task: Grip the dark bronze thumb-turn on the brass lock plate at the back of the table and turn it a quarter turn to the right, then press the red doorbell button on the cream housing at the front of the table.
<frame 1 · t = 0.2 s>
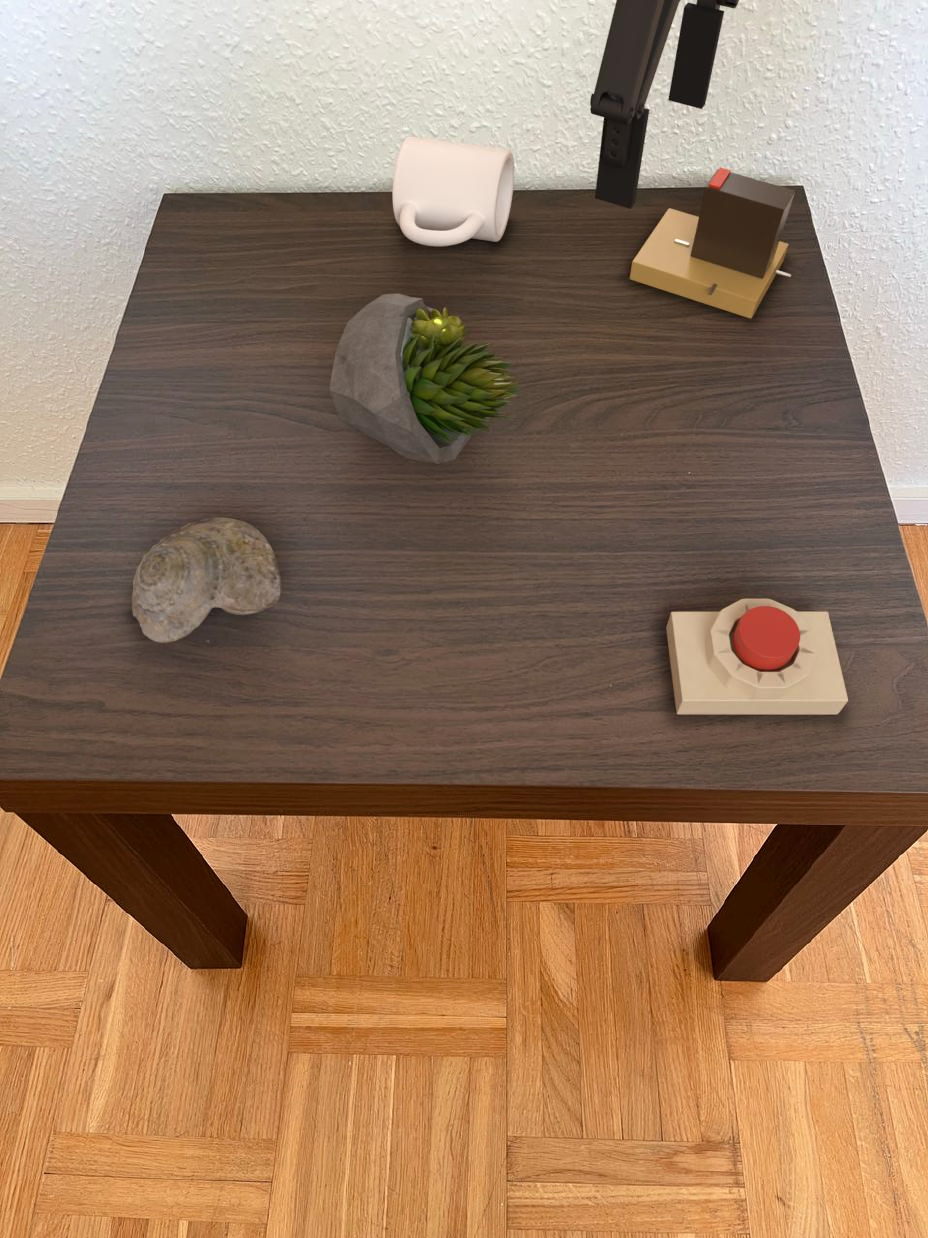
hand: (652, 149, 66), 18 cm above the table, tool pointing down, fingers open, 13 cm apart
lock plate: (706, 270, 86), on the table
bell button: (766, 637, 60), point 4 cm above the table, slide at 0.1 cm
mug: (450, 240, 90), on the table
lock turn: (741, 223, 81), point 6 cm above the table, hinge at 0.0°
bell housing: (749, 669, 64), on the table
potted plant: (432, 427, 77), on the table
fossilized seashell: (217, 601, 68), on the table
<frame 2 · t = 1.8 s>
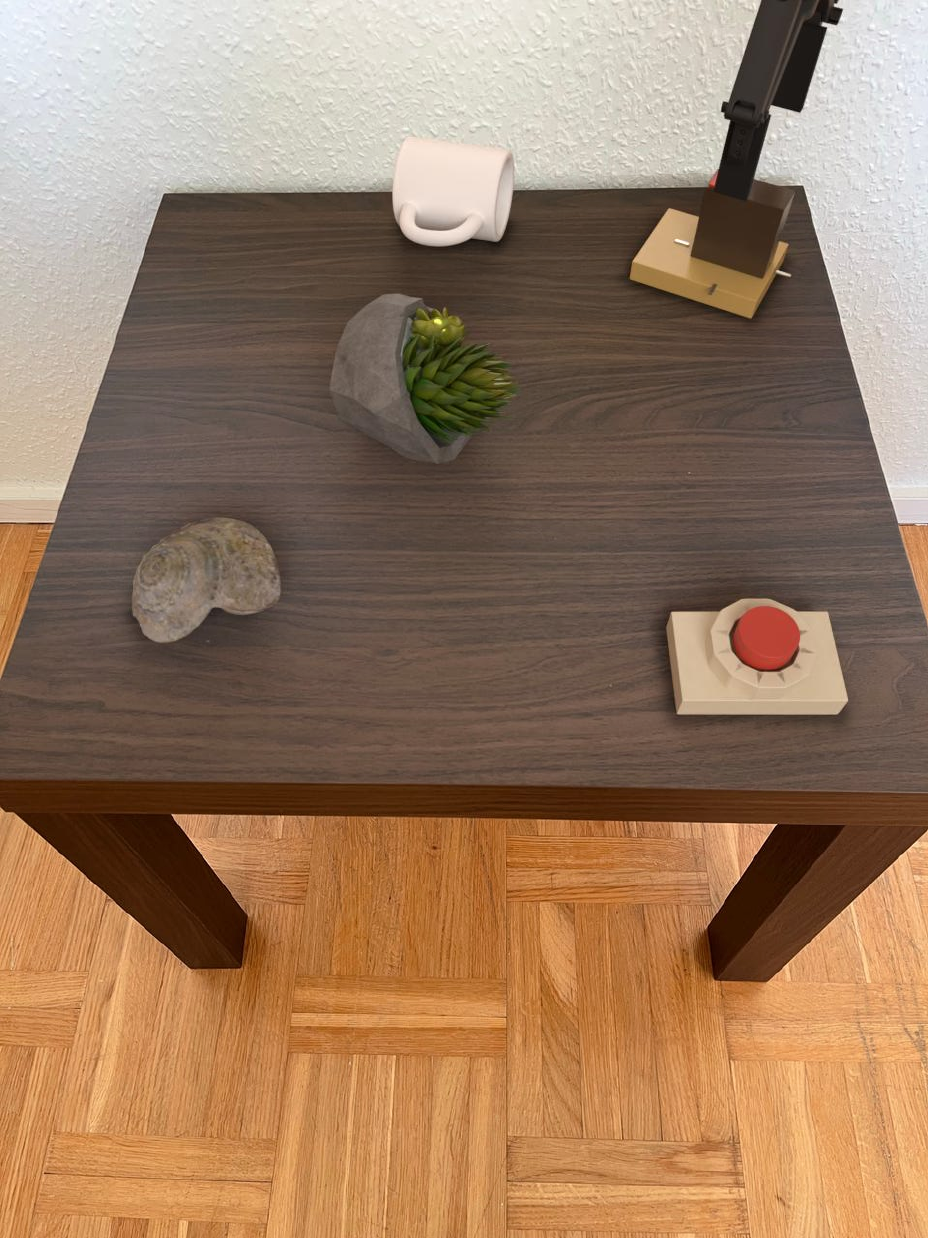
hand: (759, 148, 75), 13 cm above the table, tool pointing down, fingers open, 13 cm apart
nothing on the table moved.
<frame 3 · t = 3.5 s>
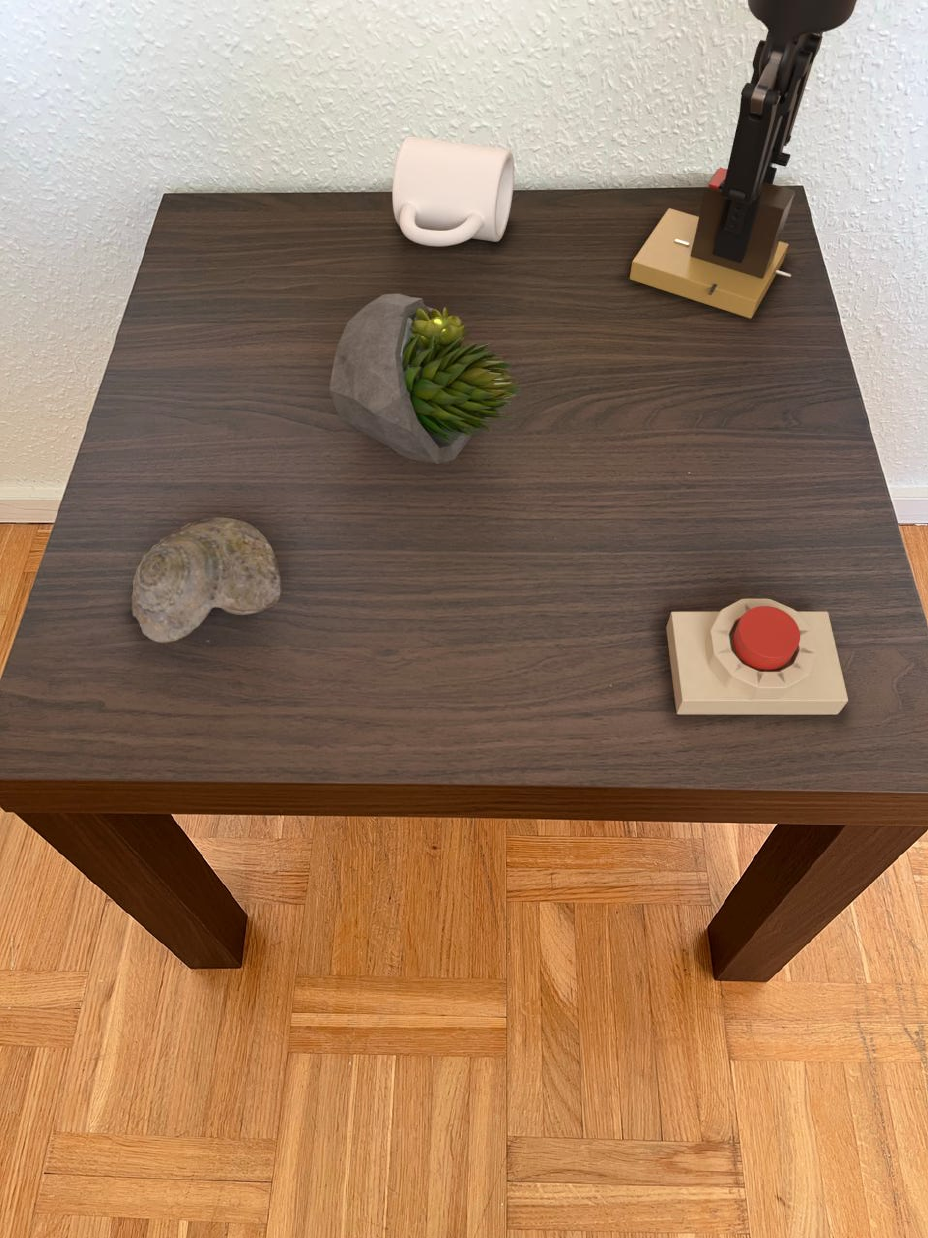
hand: (735, 244, 83), 4 cm above the table, tool pointing down, fingers closed on lock turn, 3 cm apart
lock turn: (741, 223, 81), point 6 cm above the table, hinge at 0.0°, touching gripper
everything else where it was.
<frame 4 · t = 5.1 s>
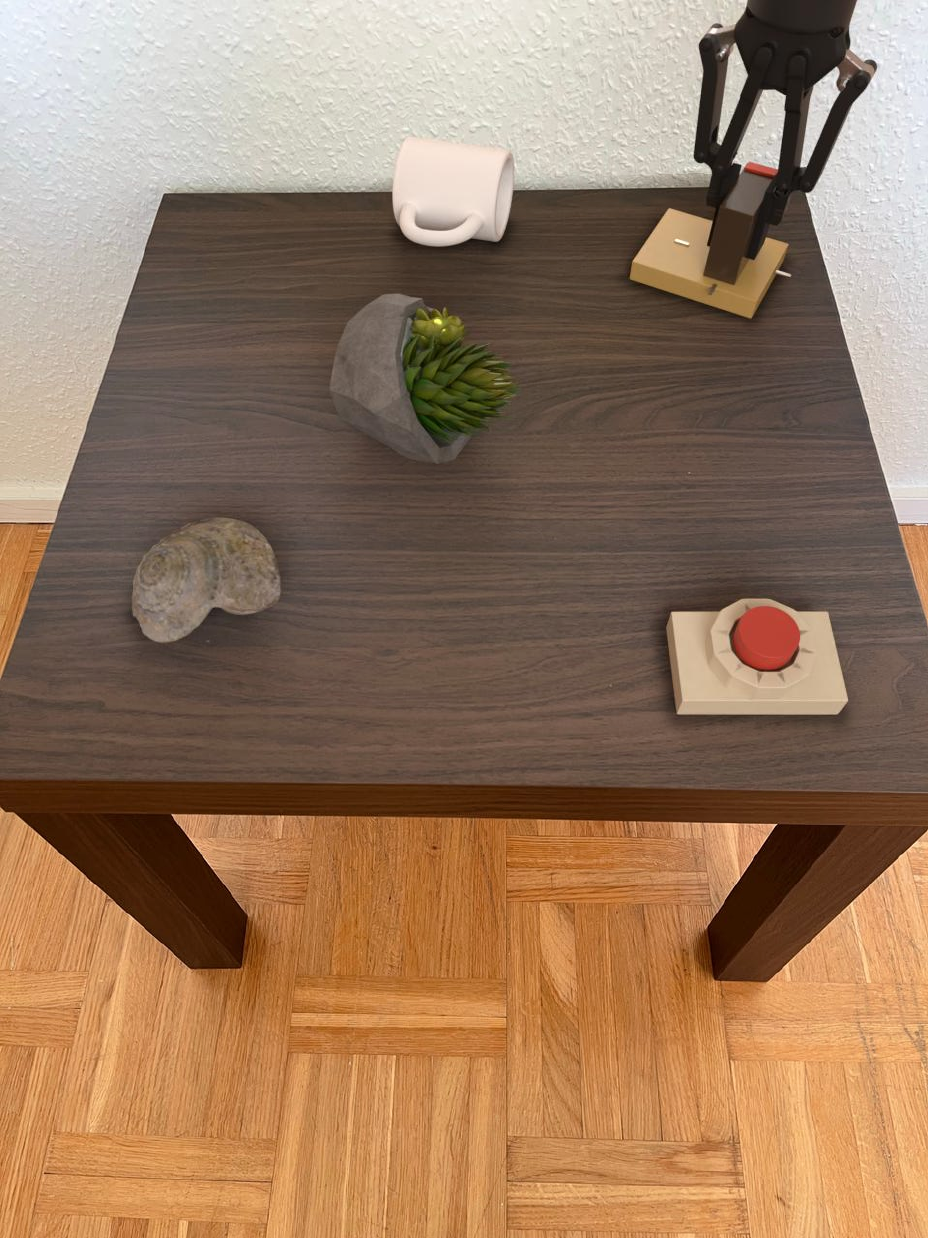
hand: (735, 243, 83), 4 cm above the table, tool pointing down, fingers closed on lock turn, 3 cm apart
lock turn: (741, 223, 81), point 6 cm above the table, hinge at -89.8°, touching gripper
everything else where it was.
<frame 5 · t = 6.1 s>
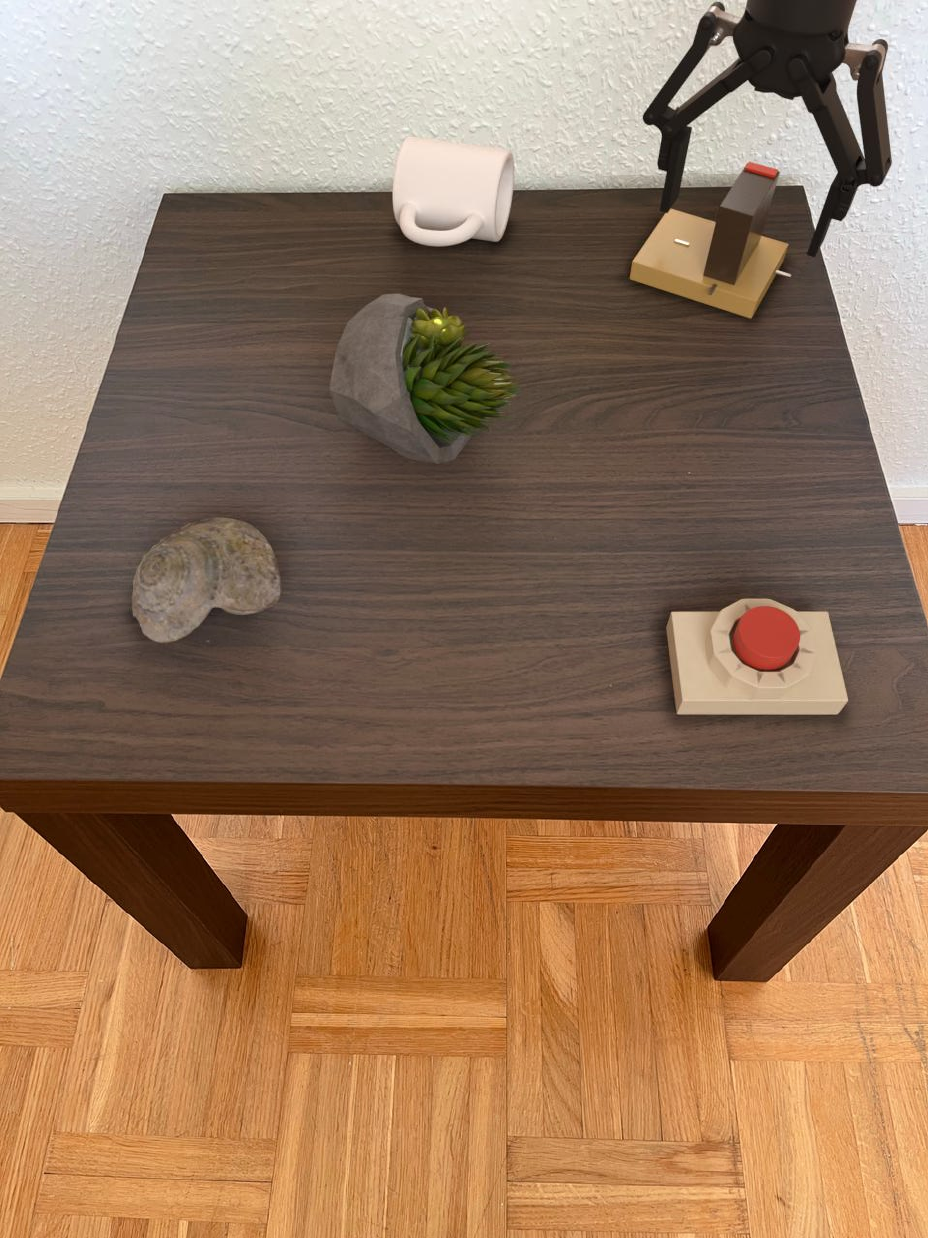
hand: (740, 225, 81), 5 cm above the table, tool pointing down, fingers open, 13 cm apart
lock turn: (741, 223, 81), point 6 cm above the table, hinge at -89.8°
everything else where it was.
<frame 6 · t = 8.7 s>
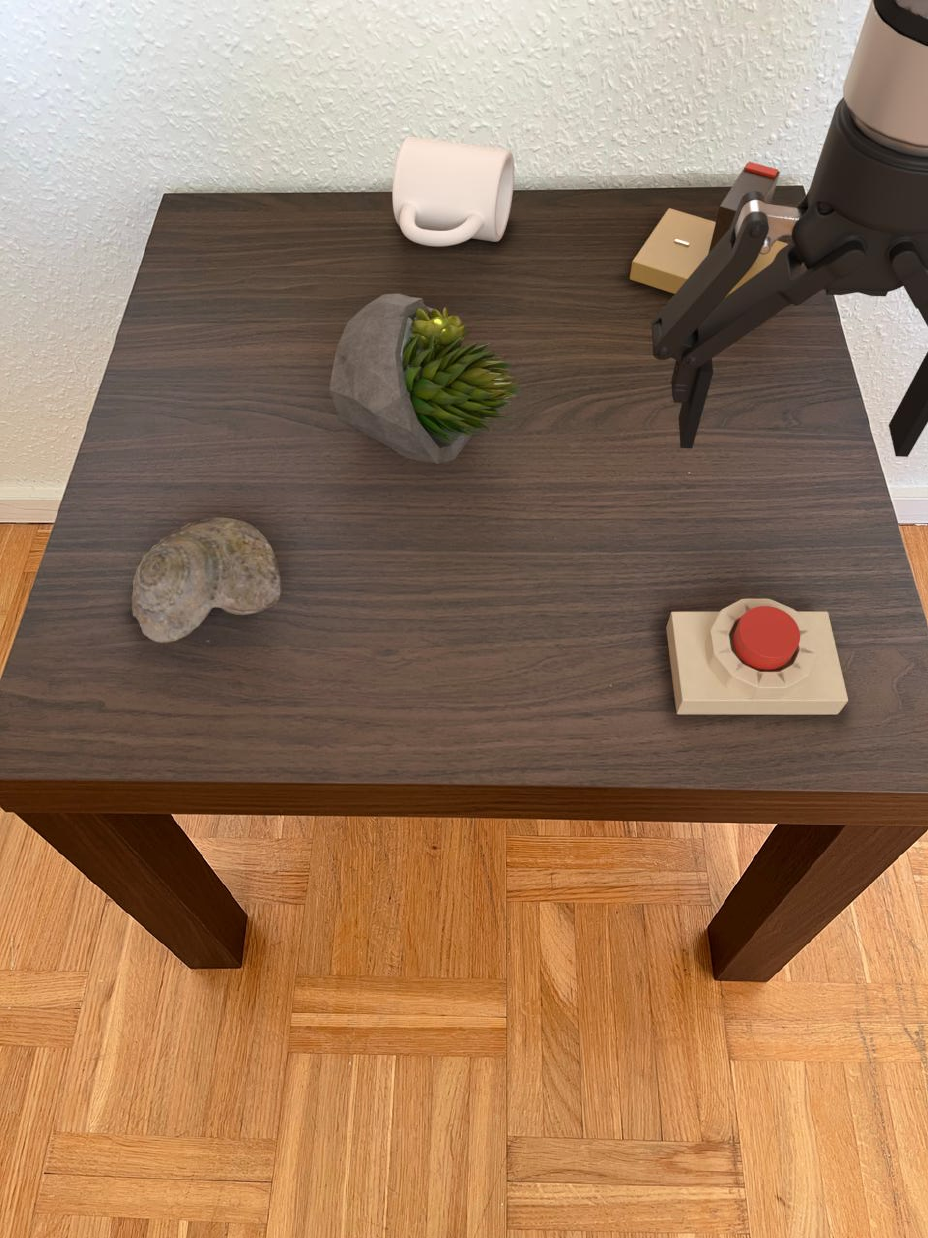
hand: (790, 437, 59), 12 cm above the table, tool pointing down, fingers open, 13 cm apart
nothing on the table moved.
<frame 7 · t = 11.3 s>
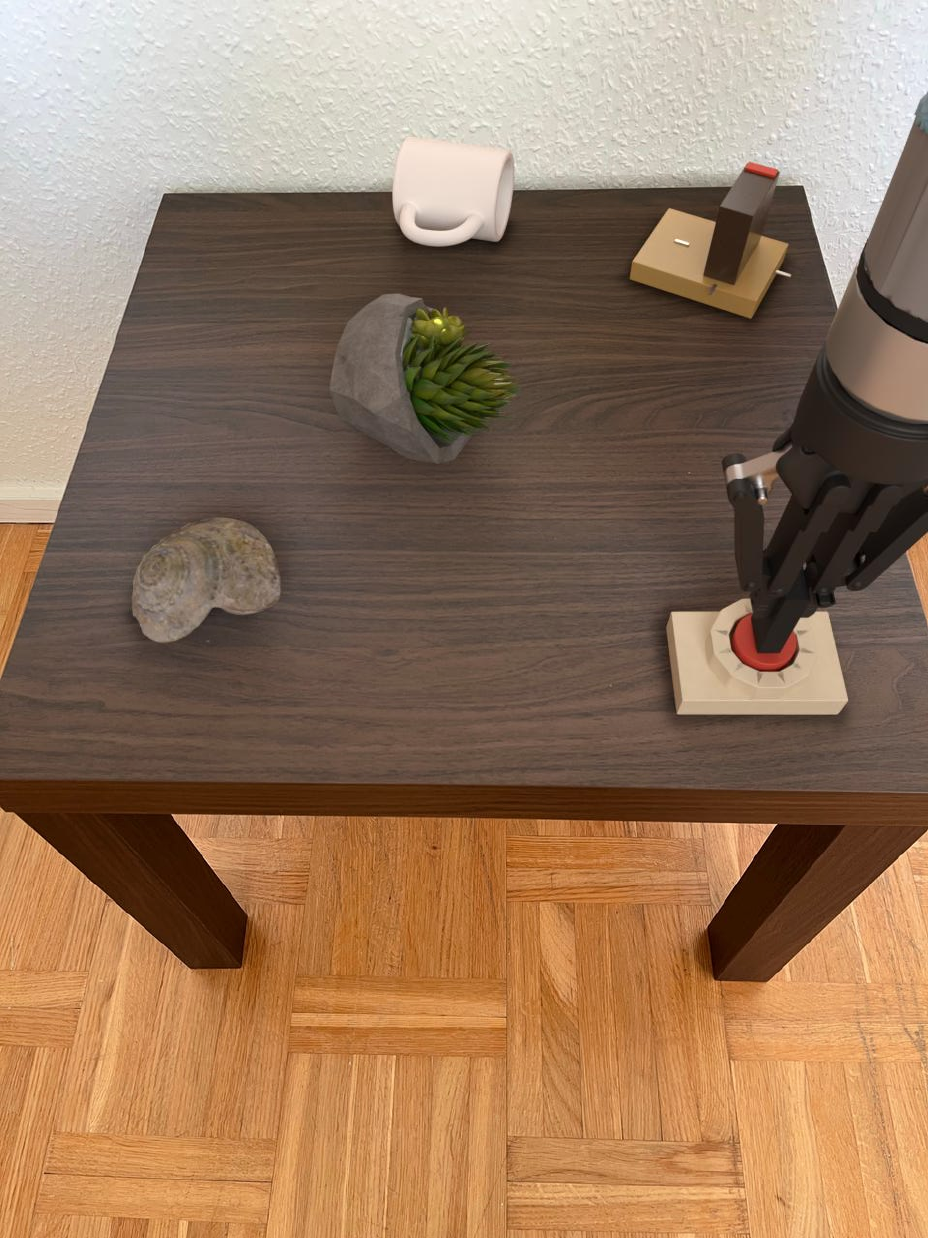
hand: (765, 635, 60), 5 cm above the table, tool pointing down, fingers closed
bell button: (762, 644, 61), point 4 cm above the table, slide at -0.8 cm, touching gripper
everything else where it was.
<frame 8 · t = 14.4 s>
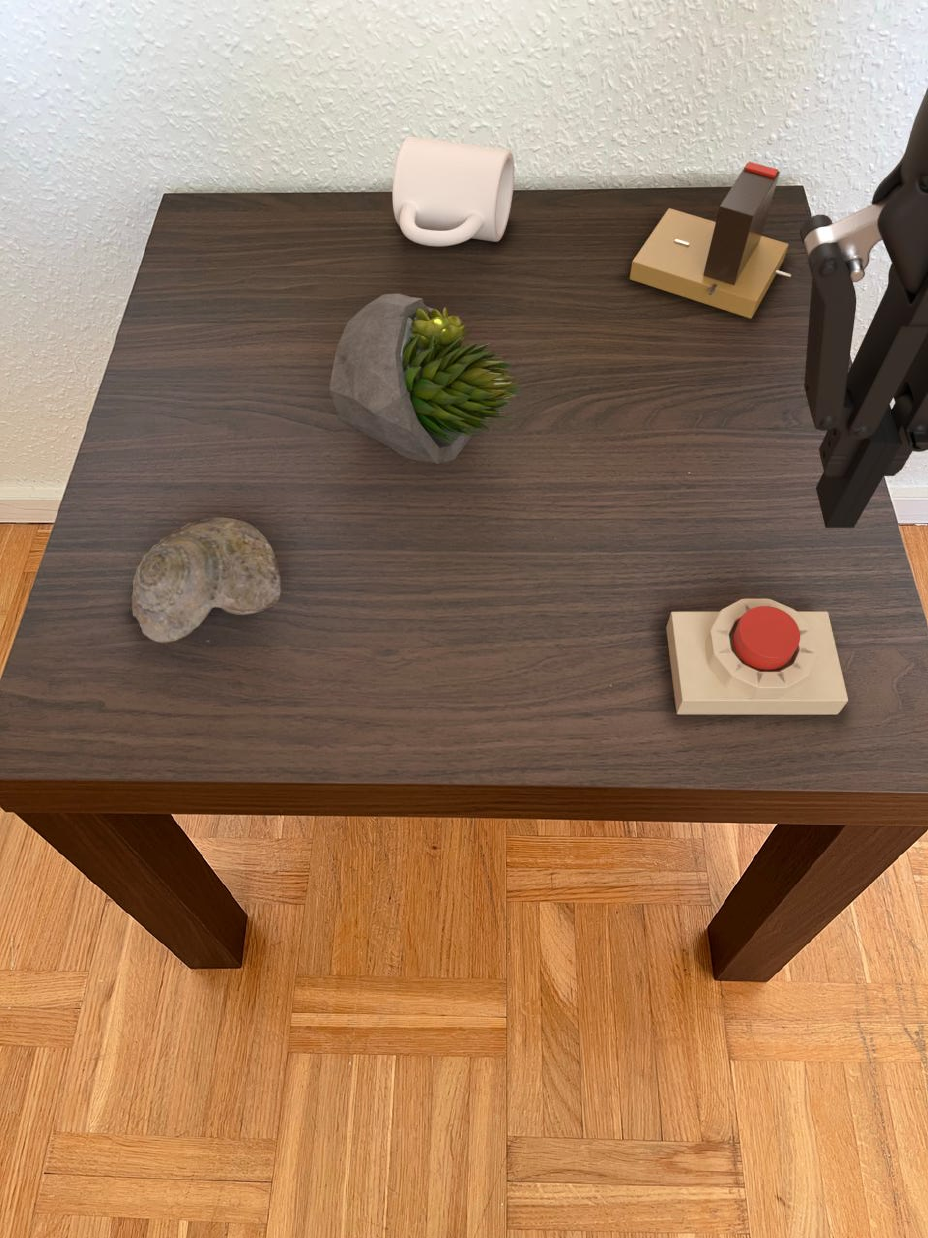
hand: (834, 507, 49), 18 cm above the table, tool pointing down, fingers closed
bell button: (766, 637, 60), point 4 cm above the table, slide at 0.1 cm
everything else where it was.
at the end: lock turn at -90° (first picture: +0°); bell button pushed in 1.0 cm at the most during the clip, back to where it started at the end; bell button slide at 0.1 cm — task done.
